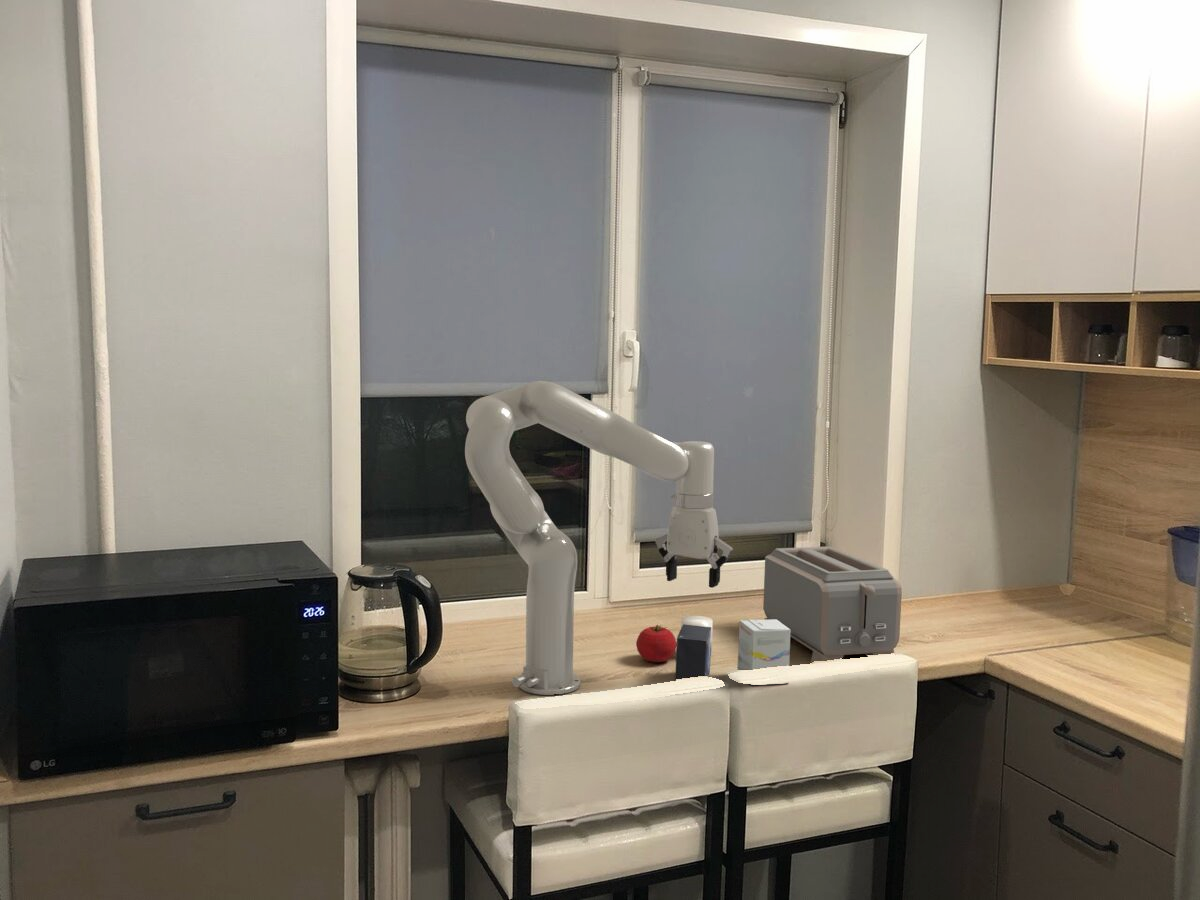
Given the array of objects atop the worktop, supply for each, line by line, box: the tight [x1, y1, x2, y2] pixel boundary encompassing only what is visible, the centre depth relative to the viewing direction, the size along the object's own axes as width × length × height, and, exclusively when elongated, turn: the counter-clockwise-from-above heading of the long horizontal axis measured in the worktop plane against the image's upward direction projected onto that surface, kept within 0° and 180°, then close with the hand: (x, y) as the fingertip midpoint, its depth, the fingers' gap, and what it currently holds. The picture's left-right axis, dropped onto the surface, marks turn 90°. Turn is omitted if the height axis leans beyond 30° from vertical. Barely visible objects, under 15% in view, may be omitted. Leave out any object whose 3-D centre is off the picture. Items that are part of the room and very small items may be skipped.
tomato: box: [635, 624, 677, 663], centre depth 221 cm, size 9×9×8 cm
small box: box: [674, 624, 712, 681], centre depth 208 cm, size 11×6×10 cm, turn 168°
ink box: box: [736, 619, 791, 670], centre depth 210 cm, size 9×9×12 cm
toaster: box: [762, 545, 903, 663], centre depth 233 cm, size 19×35×20 cm, turn 16°
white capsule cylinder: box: [680, 615, 714, 657], centre depth 226 cm, size 7×7×8 cm
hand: (692, 583), depth 210 cm, fingers open, 9 cm apart
